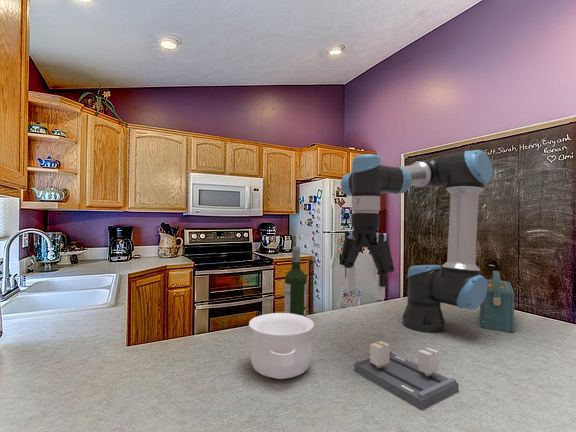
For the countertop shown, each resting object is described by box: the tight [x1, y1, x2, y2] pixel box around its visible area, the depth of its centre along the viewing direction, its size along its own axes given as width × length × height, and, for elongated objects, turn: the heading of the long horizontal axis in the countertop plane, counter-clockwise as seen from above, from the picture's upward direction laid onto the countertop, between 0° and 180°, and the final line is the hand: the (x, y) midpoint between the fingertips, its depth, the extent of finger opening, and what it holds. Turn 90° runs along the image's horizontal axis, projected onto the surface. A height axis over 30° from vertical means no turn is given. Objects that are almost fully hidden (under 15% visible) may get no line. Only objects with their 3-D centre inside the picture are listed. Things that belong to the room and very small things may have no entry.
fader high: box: [417, 347, 440, 376], centre depth 77 cm, size 3×4×6 cm
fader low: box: [369, 340, 391, 368], centre depth 81 cm, size 3×4×6 cm
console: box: [353, 350, 460, 411], centre depth 79 cm, size 20×14×3 cm
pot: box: [248, 312, 315, 380], centre depth 85 cm, size 22×17×12 cm
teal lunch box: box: [479, 270, 515, 333], centre depth 127 cm, size 26×11×20 cm, turn 148°
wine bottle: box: [283, 245, 308, 317], centre depth 115 cm, size 8×8×30 cm
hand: (364, 294), depth 86 cm, fingers open, 10 cm apart
